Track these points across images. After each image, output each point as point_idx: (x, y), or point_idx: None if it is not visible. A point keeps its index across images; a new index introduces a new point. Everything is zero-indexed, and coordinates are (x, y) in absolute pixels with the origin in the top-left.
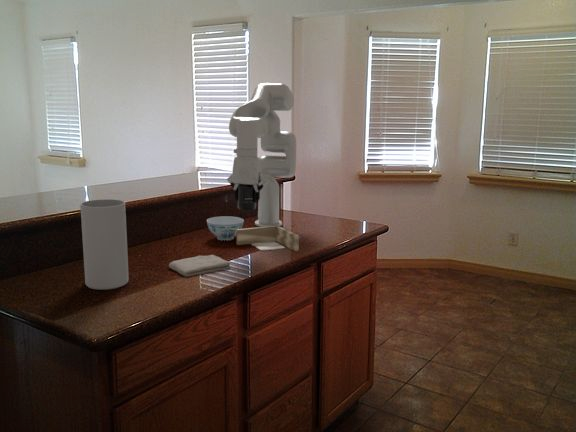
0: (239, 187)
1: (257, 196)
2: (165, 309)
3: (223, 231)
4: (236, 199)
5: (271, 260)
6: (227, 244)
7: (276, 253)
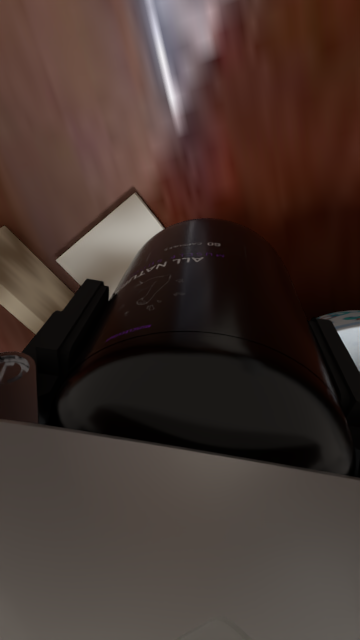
0: (323, 400)
1: (47, 329)
2: None
3: (348, 311)
4: (322, 323)
5: (33, 23)
6: (311, 264)
7: (61, 171)
